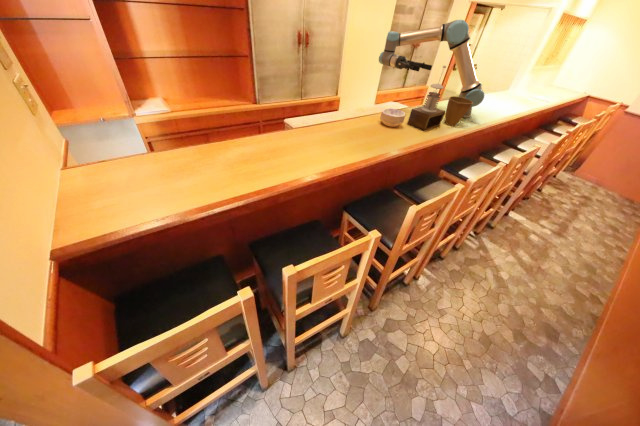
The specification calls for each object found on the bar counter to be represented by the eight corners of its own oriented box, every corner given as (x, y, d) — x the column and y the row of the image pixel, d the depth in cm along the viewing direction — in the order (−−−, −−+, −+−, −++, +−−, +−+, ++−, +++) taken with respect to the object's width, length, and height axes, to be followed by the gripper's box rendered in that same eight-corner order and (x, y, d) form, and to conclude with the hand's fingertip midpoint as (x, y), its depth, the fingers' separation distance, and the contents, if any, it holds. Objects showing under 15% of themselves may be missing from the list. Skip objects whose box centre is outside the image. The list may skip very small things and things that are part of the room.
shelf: (423, 119, 172) (428, 105, 166) (439, 126, 165) (445, 111, 158) (407, 124, 163) (412, 108, 156) (423, 131, 155) (429, 115, 149)
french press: (437, 109, 160) (454, 65, 144) (435, 114, 152) (453, 68, 136) (422, 106, 163) (436, 63, 147) (419, 110, 154) (435, 65, 138)
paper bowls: (376, 125, 156) (379, 112, 151) (381, 118, 167) (384, 106, 162) (400, 130, 152) (404, 117, 147) (403, 123, 163) (407, 111, 158)
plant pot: (436, 122, 170) (446, 98, 160) (443, 118, 179) (453, 95, 169) (458, 129, 163) (469, 104, 153) (464, 124, 172) (475, 100, 162)
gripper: (407, 67, 174) (433, 74, 162) (385, 69, 161) (411, 76, 149) (411, 55, 169) (438, 61, 157) (388, 55, 157) (416, 62, 145)
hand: (425, 68), depth 153 cm, fingers open, 13 cm apart
